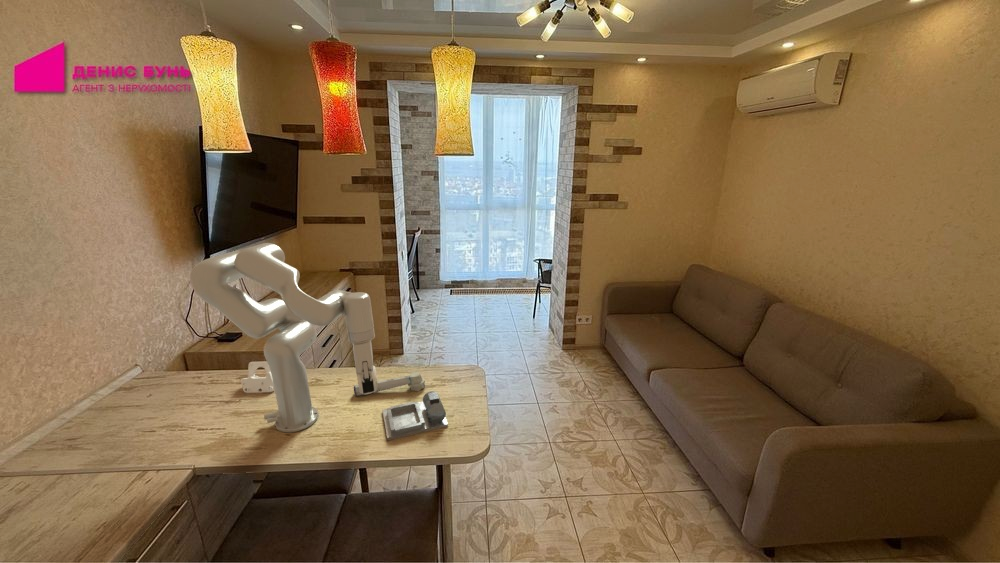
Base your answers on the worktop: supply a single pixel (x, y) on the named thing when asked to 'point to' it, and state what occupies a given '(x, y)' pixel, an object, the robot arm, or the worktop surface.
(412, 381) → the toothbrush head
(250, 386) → the mounting bracket
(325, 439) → the worktop surface
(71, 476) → the worktop surface
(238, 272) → the robot arm
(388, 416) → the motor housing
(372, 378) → the cylinder
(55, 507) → the worktop surface
